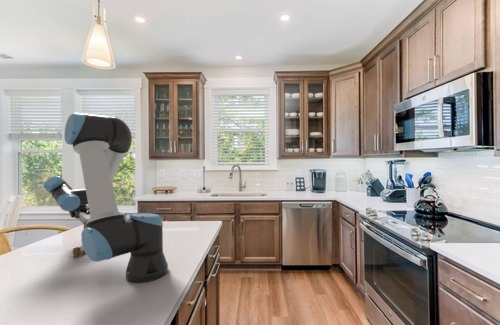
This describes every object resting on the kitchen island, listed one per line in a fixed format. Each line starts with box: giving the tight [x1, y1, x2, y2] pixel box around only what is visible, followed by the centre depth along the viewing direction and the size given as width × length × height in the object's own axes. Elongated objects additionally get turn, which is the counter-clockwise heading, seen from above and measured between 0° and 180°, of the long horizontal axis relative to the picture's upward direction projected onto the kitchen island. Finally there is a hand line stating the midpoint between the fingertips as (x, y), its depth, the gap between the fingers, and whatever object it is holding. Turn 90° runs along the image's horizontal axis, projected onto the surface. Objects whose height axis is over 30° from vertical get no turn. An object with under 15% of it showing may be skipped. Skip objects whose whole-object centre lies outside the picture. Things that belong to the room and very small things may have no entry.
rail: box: [72, 246, 86, 258], centre depth 135 cm, size 37×2×4 cm, turn 169°
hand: (97, 223), depth 141 cm, fingers open, 13 cm apart
